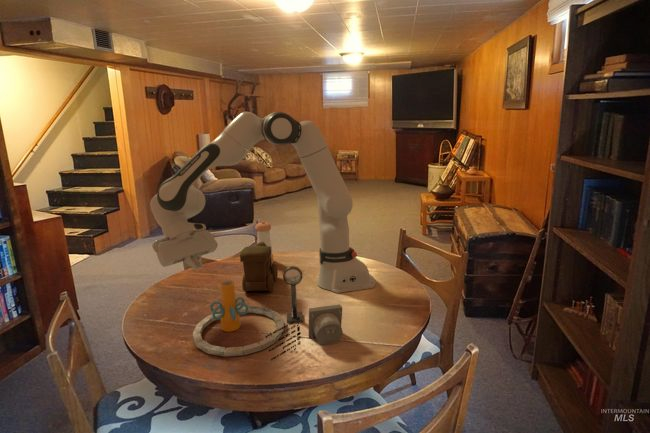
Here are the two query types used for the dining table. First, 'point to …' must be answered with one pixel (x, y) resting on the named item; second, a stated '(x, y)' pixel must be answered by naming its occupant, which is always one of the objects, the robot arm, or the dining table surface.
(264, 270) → the brown backpack
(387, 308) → the dining table surface
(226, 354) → the ring
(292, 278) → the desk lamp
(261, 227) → the salt shaker
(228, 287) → the orange vase with loops
